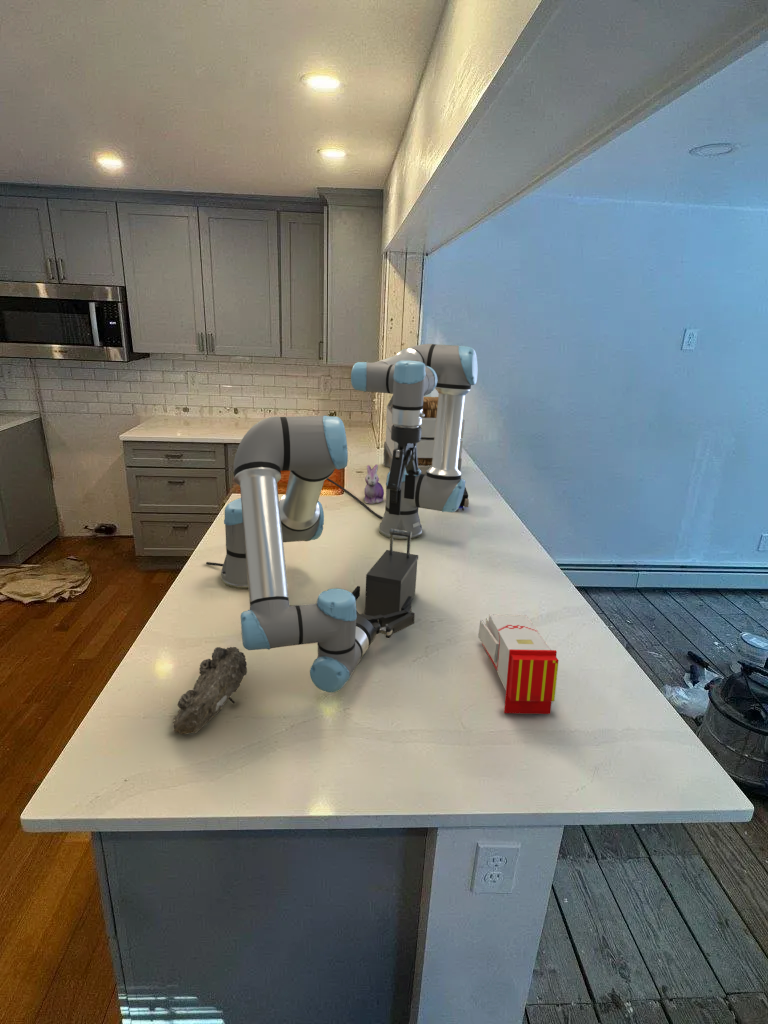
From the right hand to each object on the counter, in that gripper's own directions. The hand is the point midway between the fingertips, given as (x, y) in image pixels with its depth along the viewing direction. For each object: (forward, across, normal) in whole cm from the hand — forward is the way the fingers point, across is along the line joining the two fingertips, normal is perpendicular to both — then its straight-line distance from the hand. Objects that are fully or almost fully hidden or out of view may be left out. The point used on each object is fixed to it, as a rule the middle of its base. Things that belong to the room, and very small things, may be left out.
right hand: (402, 506), depth 148 cm
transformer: (+26, +123, +26) cm, 129 cm away
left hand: (+20, -13, 0) cm, 24 cm away
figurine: (+26, +74, +32) cm, 85 cm away
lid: (+16, -5, 0) cm, 16 cm away
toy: (+26, -25, -34) cm, 49 cm away
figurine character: (+26, +82, -1) cm, 86 cm away
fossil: (+26, -56, +21) cm, 65 cm away
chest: (+26, -6, 0) cm, 27 cm away
